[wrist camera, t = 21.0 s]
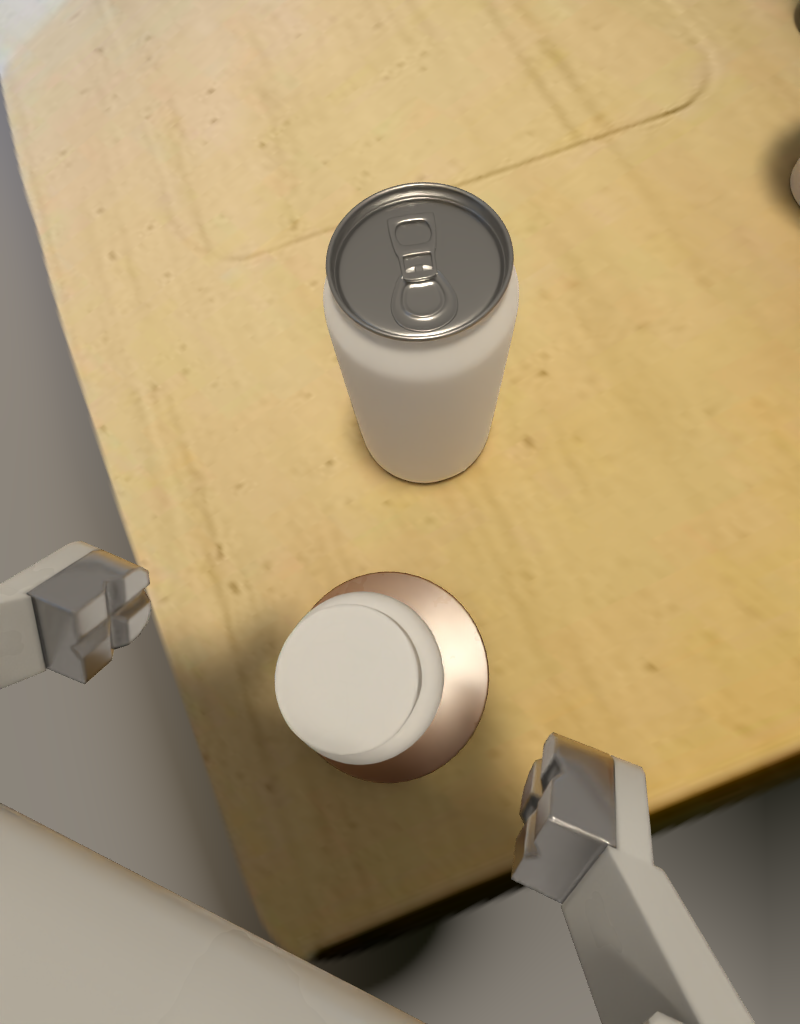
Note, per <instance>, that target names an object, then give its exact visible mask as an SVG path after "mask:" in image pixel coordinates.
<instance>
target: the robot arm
mask: <svg viewBox="0 0 800 1024" xmlns="http://www.w3.org/2000/svg"><path fill="white" fill-rule="evenodd" d="M149 584H150V581H149V572H148V570H146V569H144V568H143V567H141V566H138V565H136V564H134V563H132V562H129V561H127V560H125V559H122V558H120V557H118V556H115V555H113V554H111V553H109V552H106V551H104V550H102V549H99V548H96V547H94V546H92V545H89V544H87V543H84V542H82V541H78V542H71V543H69V544H68V545H66V546H64V547H63V548H61V549H59V550H57V551H55V552H54V553H52V554H50V555H49V556H47V557H45V558H44V559H42V560H40V561H39V562H37V563H35V564H34V565H32V566H30V567H28V568H27V569H25V570H24V571H22V572H20V573H18V574H17V575H15V576H13V577H12V578H10V579H8V580H7V581H5V582H3V583H0V689H2V688H4V687H7V686H9V685H12V684H14V683H17V682H19V681H22V680H24V679H27V678H29V677H32V676H34V675H37V674H39V673H42V672H44V671H46V668H47V669H50V670H52V671H54V672H56V673H59V674H61V675H64V676H66V677H68V678H71V679H73V680H76V681H78V682H80V683H83V684H86V683H87V682H88V681H89V680H90V679H91V678H92V677H94V675H96V674H97V673H98V672H99V671H100V670H101V669H102V668H104V667H105V666H106V665H107V664H108V663H109V662H110V661H111V660H112V656H113V651H114V649H117V648H120V647H124V646H127V645H129V644H130V643H131V642H133V641H134V640H135V639H136V638H137V637H138V636H139V635H140V634H141V632H142V631H143V629H144V627H145V626H146V624H147V623H148V621H149V616H150V613H151V601H150V599H149V598H148V596H147V594H146V593H145V591H144V589H145V588H146V587H147V586H148V585H149ZM519 814H520V817H521V819H522V821H523V823H524V826H523V828H522V830H521V831H520V833H519V835H518V837H517V838H516V843H515V851H514V859H513V868H512V876H511V879H512V880H514V881H516V882H518V883H520V884H522V885H524V886H526V887H528V888H530V889H533V890H535V891H537V892H539V893H541V894H543V895H545V896H547V897H549V898H551V899H553V900H555V901H557V902H559V903H561V904H562V905H561V909H562V911H563V914H564V917H565V920H566V923H567V926H568V929H569V931H570V934H571V937H572V940H573V943H574V946H575V949H576V951H577V954H578V957H579V960H580V963H581V965H582V968H583V971H584V974H585V977H586V980H587V983H588V986H589V988H590V991H591V994H592V997H593V1000H594V1003H595V1006H596V1008H597V1011H598V1014H599V1017H600V1020H601V1022H602V1024H755V1022H754V1021H753V1019H752V1017H751V1016H750V1014H749V1012H748V1010H747V1009H746V1007H745V1005H744V1004H743V1002H742V1000H741V999H740V997H739V995H738V994H737V992H736V990H735V989H734V987H733V985H732V984H731V982H730V980H729V979H728V977H727V975H726V974H725V972H724V970H723V969H722V967H721V965H720V964H719V962H718V960H717V959H716V957H715V955H714V954H713V952H712V950H711V949H710V947H709V945H708V943H707V942H706V940H705V939H704V937H703V935H702V933H701V932H700V930H699V928H698V927H697V925H696V924H695V922H694V920H693V918H692V917H691V915H690V913H689V912H688V910H687V908H686V907H685V905H684V903H683V902H682V900H681V898H680V897H679V895H678V893H677V892H676V890H675V888H674V887H673V885H672V883H671V882H670V880H669V878H668V876H667V875H666V873H665V871H664V870H663V869H661V868H659V867H657V866H654V862H653V852H652V841H651V830H650V820H649V809H648V798H647V788H646V777H645V772H644V771H643V769H642V767H640V766H638V765H635V764H632V763H630V762H627V761H625V760H622V759H620V758H617V757H615V756H612V755H611V756H610V755H609V754H608V753H605V752H603V751H600V750H598V749H595V748H593V747H590V746H587V745H585V744H582V743H580V742H577V741H575V740H572V739H569V738H567V737H564V736H562V735H559V734H557V733H554V732H553V733H552V734H551V735H549V737H548V739H547V740H546V742H545V744H544V748H543V757H542V759H539V760H536V761H535V762H534V764H533V766H532V768H531V770H530V772H529V775H528V778H527V781H526V784H525V786H524V791H523V795H522V800H521V807H520V813H519ZM0 1024H426V1023H424V1022H422V1021H420V1020H419V1019H417V1018H415V1017H413V1016H410V1015H409V1014H407V1013H405V1012H403V1011H401V1010H399V1009H397V1008H395V1007H393V1006H391V1005H390V1004H388V1003H386V1002H384V1001H382V1000H380V999H378V998H376V997H374V996H372V995H370V994H368V993H366V992H364V991H363V990H361V989H359V988H357V987H355V986H353V985H351V984H349V983H347V982H345V981H343V980H341V979H339V978H337V977H336V976H334V975H332V974H330V973H328V972H326V971H324V970H322V969H320V968H318V967H316V966H314V965H312V964H311V963H309V962H307V961H305V960H303V959H301V958H299V957H297V956H295V955H293V954H291V953H289V952H287V951H285V950H284V949H282V948H280V947H278V946H276V945H274V944H272V943H270V942H268V941H266V940H264V939H262V938H260V937H258V936H256V935H255V934H253V933H251V932H249V931H247V930H245V929H243V928H241V927H239V926H237V925H235V924H233V923H231V922H229V921H228V920H226V919H224V918H222V917H220V916H218V915H216V914H214V913H212V912H210V911H208V910H206V909H204V908H202V907H200V906H198V905H196V904H195V903H193V902H191V901H189V900H187V899H185V898H183V897H181V896H179V895H177V894H175V893H174V892H172V891H170V890H168V889H166V888H164V887H162V886H160V885H158V884H156V883H154V882H152V881H150V880H148V879H146V878H145V877H143V876H141V875H139V874H137V873H135V872H133V871H131V870H129V869H127V868H125V867H123V866H121V865H119V864H118V863H116V862H114V861H112V860H110V859H108V858H106V857H104V856H102V855H100V854H98V853H96V852H94V851H92V850H90V849H89V848H87V847H85V846H83V845H81V844H79V843H77V842H75V841H73V840H71V839H69V838H67V837H65V836H64V835H61V834H60V833H58V832H55V831H54V830H52V829H50V828H48V827H46V826H44V825H42V824H40V823H38V822H36V821H35V820H33V819H31V818H29V817H27V816H25V815H23V814H21V813H19V812H17V811H15V810H13V809H11V808H9V807H7V806H5V805H4V804H2V803H0Z"/></svg>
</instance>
